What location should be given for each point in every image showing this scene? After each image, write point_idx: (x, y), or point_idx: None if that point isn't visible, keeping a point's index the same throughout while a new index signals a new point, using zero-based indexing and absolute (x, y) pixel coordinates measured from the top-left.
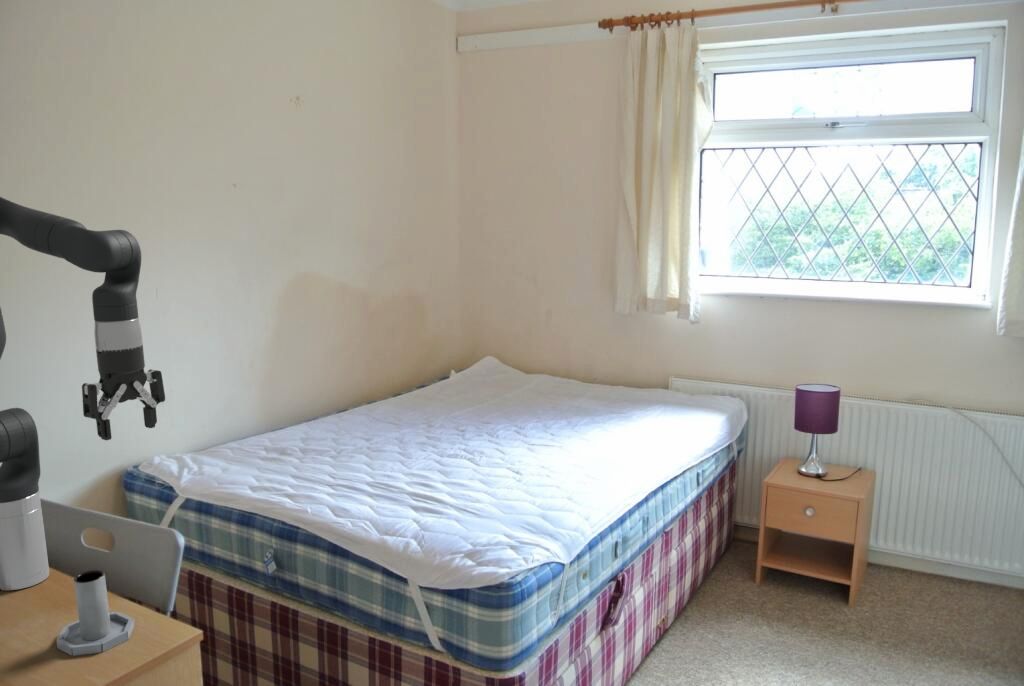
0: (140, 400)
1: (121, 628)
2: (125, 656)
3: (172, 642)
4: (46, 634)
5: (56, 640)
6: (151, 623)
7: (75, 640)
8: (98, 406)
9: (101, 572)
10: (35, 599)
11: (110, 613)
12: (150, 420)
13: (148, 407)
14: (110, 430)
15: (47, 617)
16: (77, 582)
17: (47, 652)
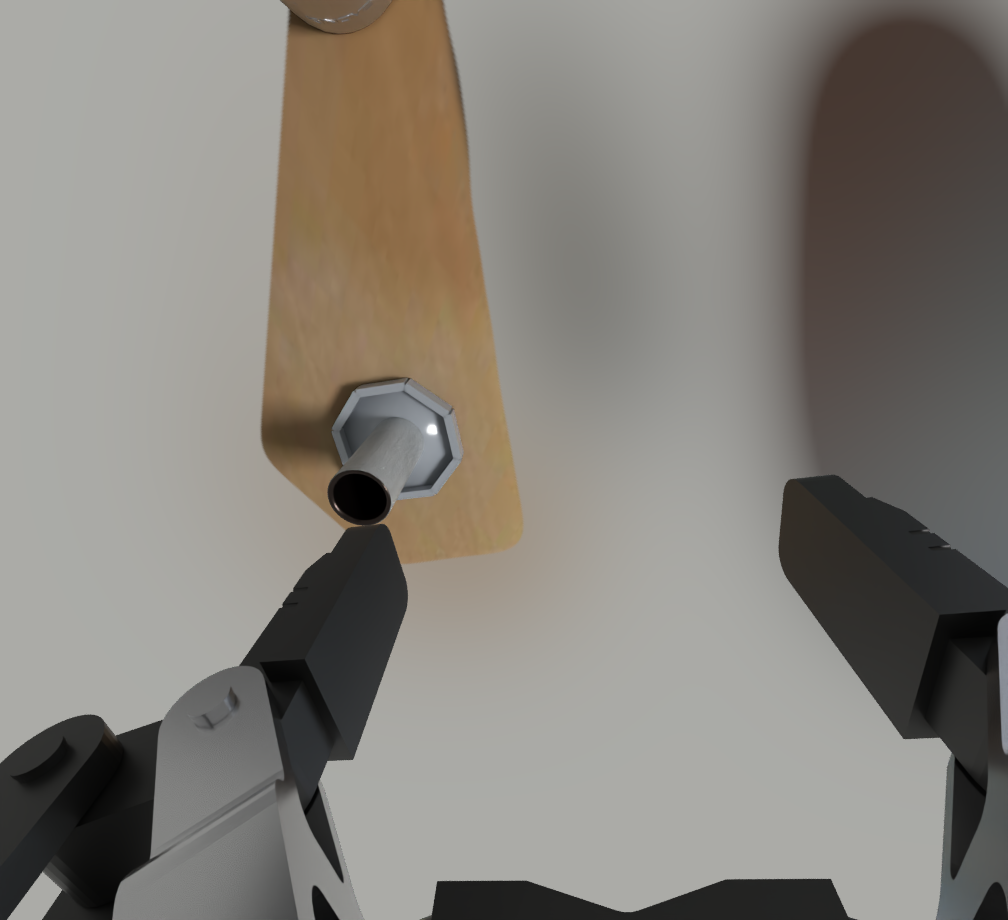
0: (988, 771)
1: (439, 456)
2: (416, 529)
3: (486, 545)
4: (331, 356)
5: (331, 431)
6: (490, 467)
7: (364, 434)
8: (158, 850)
9: (386, 499)
10: (340, 144)
11: (437, 407)
12: (817, 606)
13: (940, 709)
14: (386, 657)
15: (346, 279)
16: (331, 506)
17: (321, 425)
